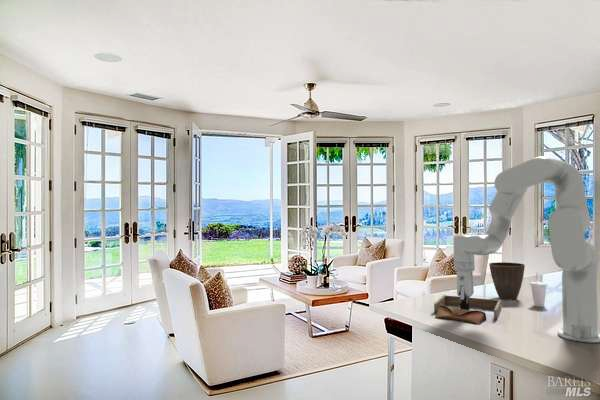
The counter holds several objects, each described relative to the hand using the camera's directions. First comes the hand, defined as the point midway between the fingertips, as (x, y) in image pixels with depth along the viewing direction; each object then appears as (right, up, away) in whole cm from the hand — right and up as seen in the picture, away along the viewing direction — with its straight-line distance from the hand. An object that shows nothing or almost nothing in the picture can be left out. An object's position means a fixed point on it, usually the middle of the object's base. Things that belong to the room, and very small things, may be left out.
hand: (464, 313), depth 166 cm
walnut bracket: (+4, -1, +7) cm, 8 cm away
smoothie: (+38, -1, +17) cm, 42 cm away
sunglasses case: (-4, -2, -4) cm, 6 cm away
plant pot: (+32, -2, +32) cm, 45 cm away
